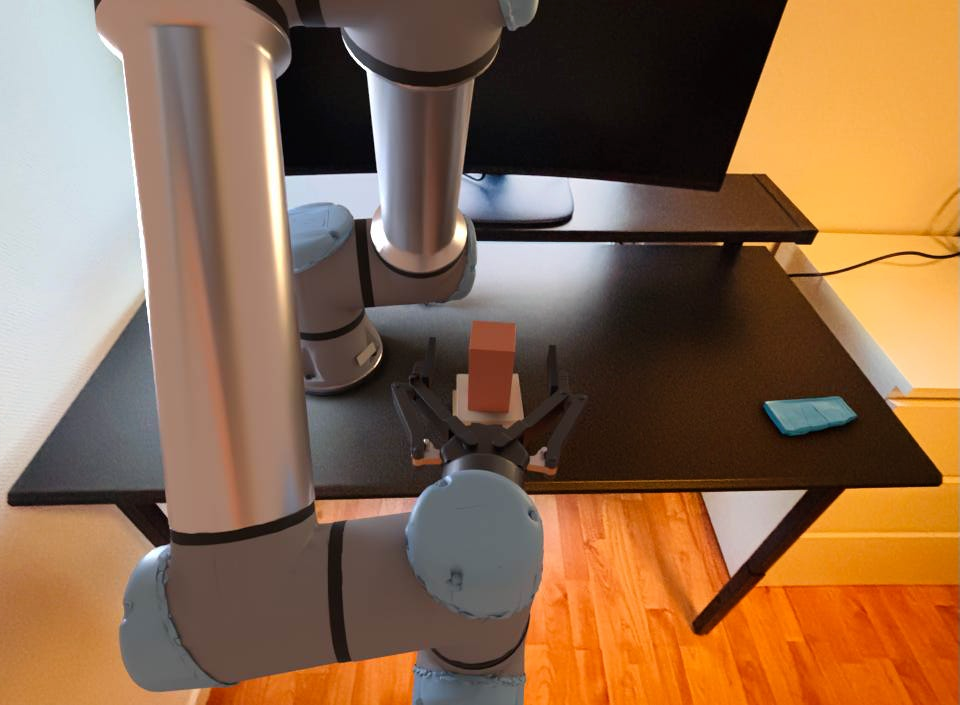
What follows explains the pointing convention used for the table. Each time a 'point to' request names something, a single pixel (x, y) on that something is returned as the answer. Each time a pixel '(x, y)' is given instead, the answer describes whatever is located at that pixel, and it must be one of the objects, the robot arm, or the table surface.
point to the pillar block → (491, 366)
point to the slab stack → (484, 416)
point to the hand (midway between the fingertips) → (492, 349)
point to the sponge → (808, 414)
